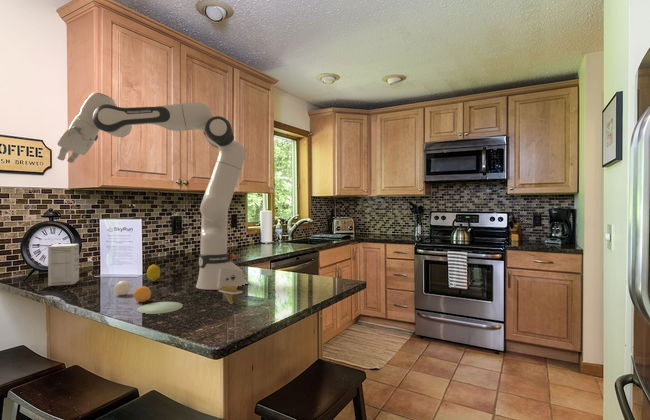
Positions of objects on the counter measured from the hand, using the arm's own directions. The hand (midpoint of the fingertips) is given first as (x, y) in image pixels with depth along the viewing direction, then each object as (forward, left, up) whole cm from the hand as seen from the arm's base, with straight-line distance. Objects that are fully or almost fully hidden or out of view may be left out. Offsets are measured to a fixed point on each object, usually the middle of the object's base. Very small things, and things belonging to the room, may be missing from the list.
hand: (65, 161), depth 137 cm
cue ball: (-16, +19, -48) cm, 54 cm away
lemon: (-33, +1, -51) cm, 61 cm away
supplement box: (-3, -20, -51) cm, 55 cm away
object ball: (-18, +33, -48) cm, 62 cm away
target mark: (-21, +45, -51) cm, 71 cm away
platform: (-41, +54, -52) cm, 86 cm away
